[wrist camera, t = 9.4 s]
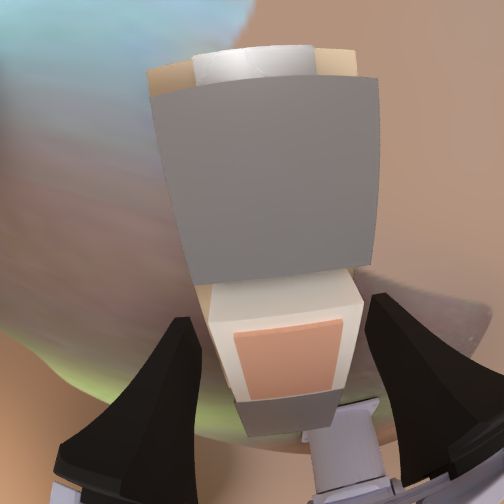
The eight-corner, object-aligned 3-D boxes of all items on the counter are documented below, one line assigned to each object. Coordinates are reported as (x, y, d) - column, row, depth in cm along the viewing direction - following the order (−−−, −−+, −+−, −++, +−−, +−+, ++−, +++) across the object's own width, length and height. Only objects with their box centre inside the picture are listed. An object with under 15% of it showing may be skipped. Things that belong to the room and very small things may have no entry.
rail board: (333, 364, 19) (349, 429, 14) (229, 377, 20) (227, 444, 15) (346, 53, 9) (422, 31, 4) (154, 72, 9) (83, 59, 4)
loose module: (320, 309, 14) (345, 392, 10) (237, 319, 14) (236, 406, 10) (323, 224, 12) (366, 307, 7) (219, 237, 12) (207, 328, 7)
